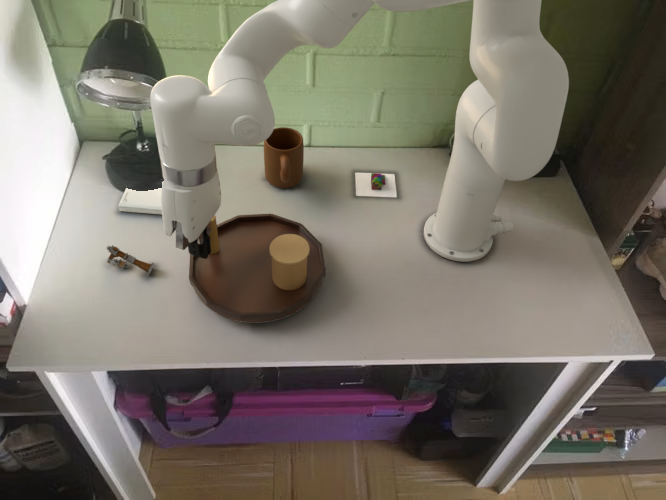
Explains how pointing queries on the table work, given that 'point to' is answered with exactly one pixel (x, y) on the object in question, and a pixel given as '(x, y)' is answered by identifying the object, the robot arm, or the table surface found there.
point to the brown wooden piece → (127, 260)
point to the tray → (252, 269)
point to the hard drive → (141, 201)
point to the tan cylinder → (289, 261)
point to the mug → (284, 157)
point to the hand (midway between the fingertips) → (200, 253)
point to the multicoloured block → (375, 185)
